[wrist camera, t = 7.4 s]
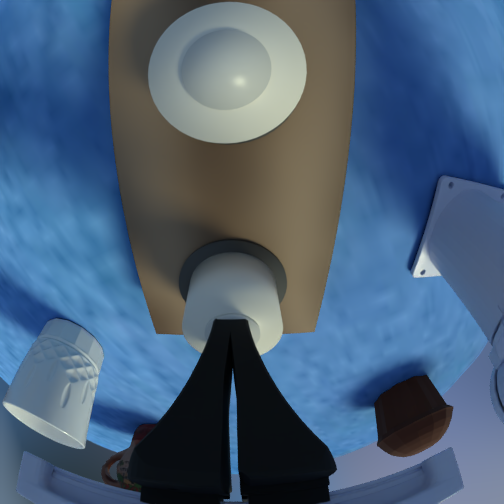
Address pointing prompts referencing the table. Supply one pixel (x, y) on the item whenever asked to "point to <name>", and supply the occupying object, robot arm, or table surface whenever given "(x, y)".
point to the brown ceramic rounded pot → (125, 462)
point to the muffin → (411, 417)
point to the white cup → (57, 383)
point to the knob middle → (227, 72)
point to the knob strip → (234, 165)
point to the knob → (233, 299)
